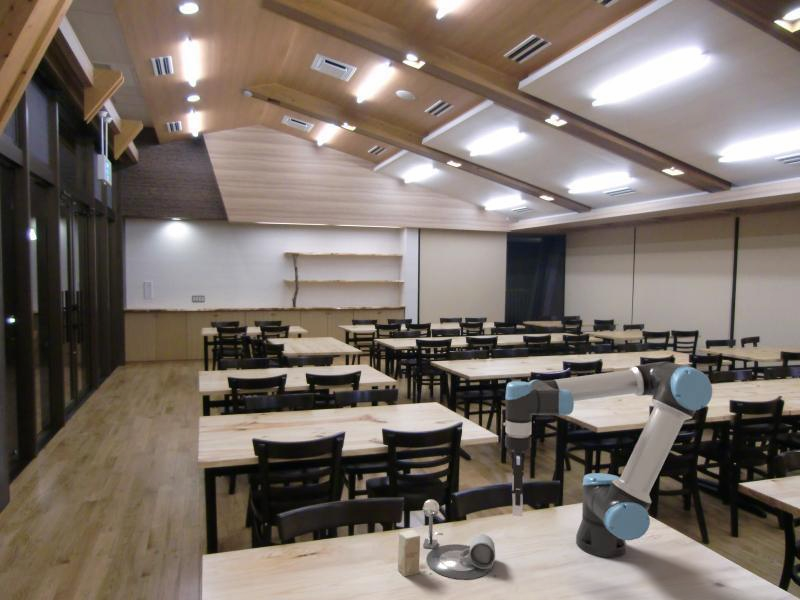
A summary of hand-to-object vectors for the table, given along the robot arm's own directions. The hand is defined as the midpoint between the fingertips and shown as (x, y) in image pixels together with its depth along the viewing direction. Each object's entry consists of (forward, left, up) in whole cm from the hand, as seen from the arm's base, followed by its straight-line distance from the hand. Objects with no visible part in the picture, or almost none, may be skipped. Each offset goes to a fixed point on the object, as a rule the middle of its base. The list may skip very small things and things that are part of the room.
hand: (517, 506), depth 156 cm
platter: (+17, 0, -18) cm, 25 cm away
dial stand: (+27, -8, -18) cm, 33 cm away
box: (+31, +9, -19) cm, 37 cm away
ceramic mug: (+11, 0, -18) cm, 22 cm away
